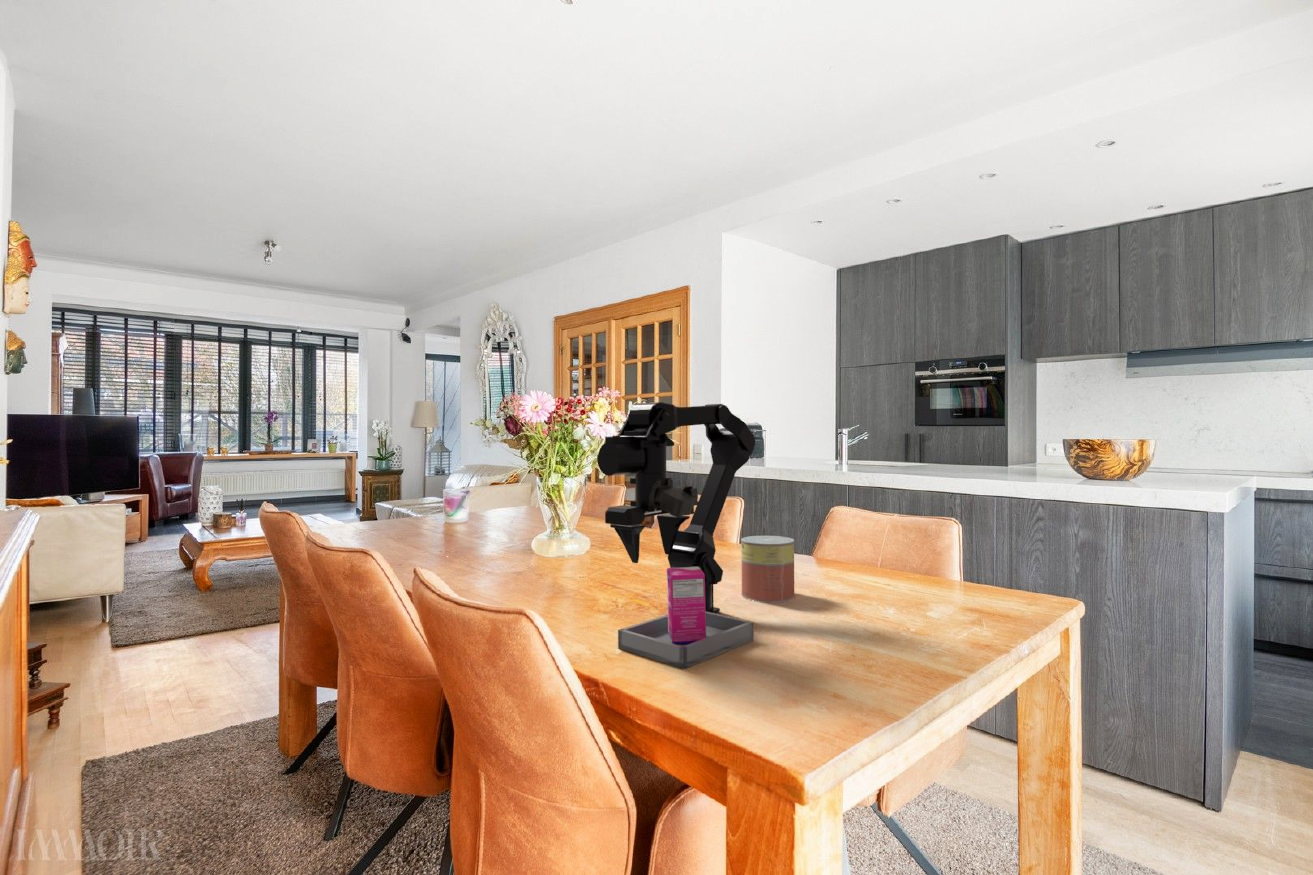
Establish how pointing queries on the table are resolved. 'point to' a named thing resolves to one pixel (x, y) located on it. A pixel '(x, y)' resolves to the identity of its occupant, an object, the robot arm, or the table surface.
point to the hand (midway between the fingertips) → (652, 558)
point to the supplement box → (686, 605)
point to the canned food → (767, 568)
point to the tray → (658, 645)
